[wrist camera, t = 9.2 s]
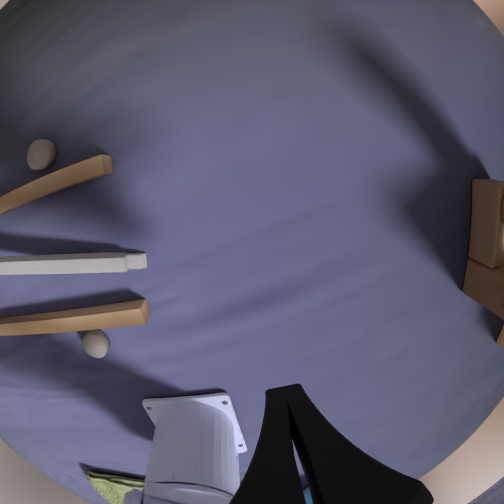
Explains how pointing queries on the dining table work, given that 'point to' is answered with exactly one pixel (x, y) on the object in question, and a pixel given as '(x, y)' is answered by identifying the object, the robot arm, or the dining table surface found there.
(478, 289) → the brown wooden frame
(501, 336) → the small box
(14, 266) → the caliper
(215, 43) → the dining table surface
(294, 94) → the dining table surface
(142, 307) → the rails
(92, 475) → the washcloth
